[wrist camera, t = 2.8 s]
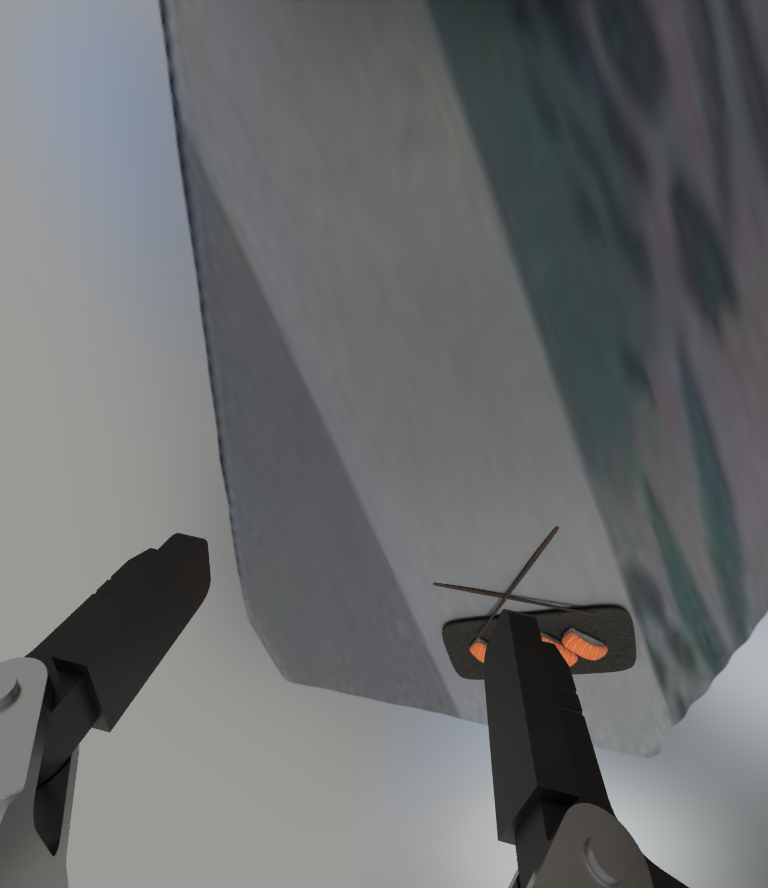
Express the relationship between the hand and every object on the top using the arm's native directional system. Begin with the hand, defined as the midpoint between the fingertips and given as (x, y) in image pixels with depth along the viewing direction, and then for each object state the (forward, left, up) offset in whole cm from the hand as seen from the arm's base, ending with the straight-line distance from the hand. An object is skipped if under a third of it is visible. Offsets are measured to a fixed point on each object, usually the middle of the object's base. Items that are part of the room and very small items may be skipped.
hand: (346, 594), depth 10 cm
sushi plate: (+18, +41, -39) cm, 60 cm away
